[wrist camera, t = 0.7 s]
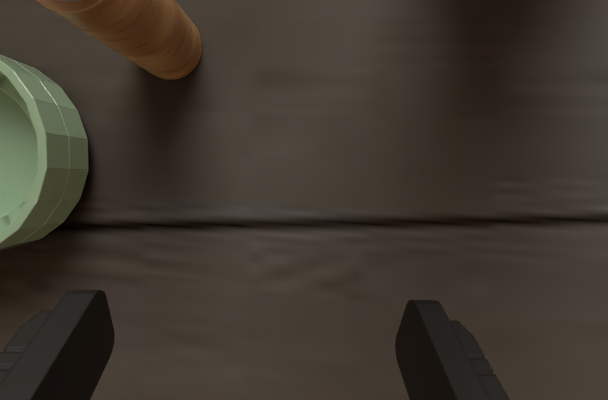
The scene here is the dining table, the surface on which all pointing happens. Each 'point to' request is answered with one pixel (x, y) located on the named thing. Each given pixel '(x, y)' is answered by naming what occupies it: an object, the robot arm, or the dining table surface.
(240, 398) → the dining table surface
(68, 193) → the serving bowl
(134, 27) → the pepper mill
